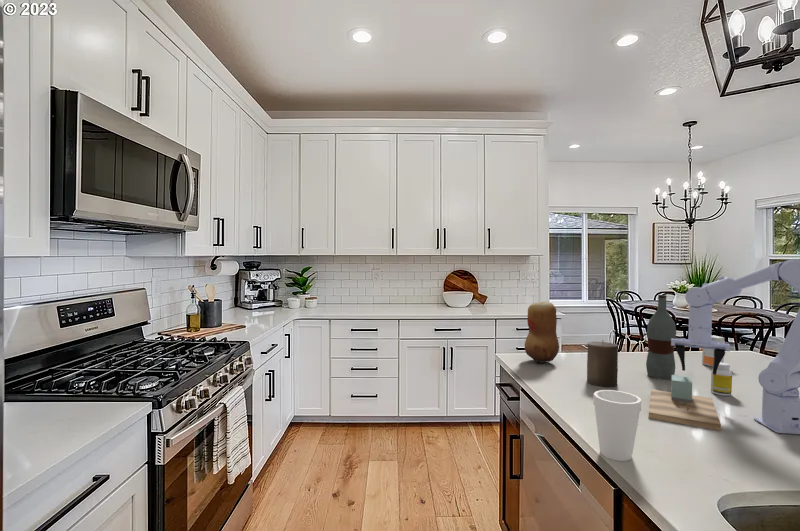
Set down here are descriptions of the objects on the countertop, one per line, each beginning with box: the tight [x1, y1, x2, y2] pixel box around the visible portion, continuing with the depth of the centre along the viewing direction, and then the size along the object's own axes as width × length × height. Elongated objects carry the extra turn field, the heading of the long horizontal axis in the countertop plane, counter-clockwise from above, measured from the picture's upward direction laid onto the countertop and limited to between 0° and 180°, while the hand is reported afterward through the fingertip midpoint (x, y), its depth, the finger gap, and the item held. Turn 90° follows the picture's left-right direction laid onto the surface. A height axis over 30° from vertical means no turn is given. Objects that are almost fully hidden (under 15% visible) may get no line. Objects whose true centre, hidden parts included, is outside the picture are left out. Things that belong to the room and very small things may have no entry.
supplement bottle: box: [710, 362, 733, 397], centre depth 140 cm, size 5×5×10 cm
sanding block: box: [670, 374, 693, 403], centre depth 131 cm, size 7×5×6 cm
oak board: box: [648, 388, 722, 432], centre depth 125 cm, size 24×16×2 cm, turn 149°
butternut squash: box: [524, 301, 560, 364], centre depth 179 cm, size 14×13×25 cm
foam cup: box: [592, 389, 642, 462], centre depth 97 cm, size 10×9×13 cm
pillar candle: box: [586, 339, 619, 388], centre depth 151 cm, size 10×10×15 cm
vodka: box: [645, 294, 677, 380], centre depth 160 cm, size 9×9×30 cm
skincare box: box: [701, 334, 725, 368], centre depth 176 cm, size 6×4×12 cm
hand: (698, 371), depth 131 cm, fingers open, 7 cm apart
